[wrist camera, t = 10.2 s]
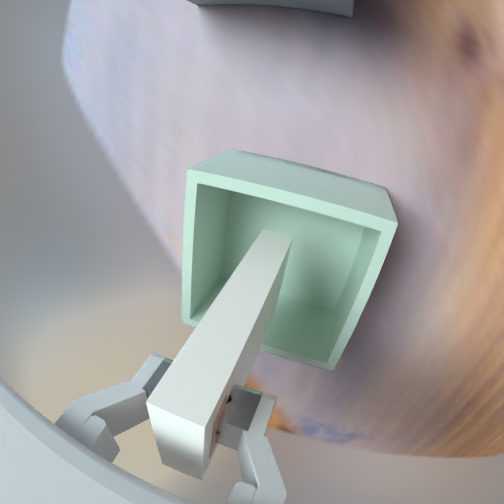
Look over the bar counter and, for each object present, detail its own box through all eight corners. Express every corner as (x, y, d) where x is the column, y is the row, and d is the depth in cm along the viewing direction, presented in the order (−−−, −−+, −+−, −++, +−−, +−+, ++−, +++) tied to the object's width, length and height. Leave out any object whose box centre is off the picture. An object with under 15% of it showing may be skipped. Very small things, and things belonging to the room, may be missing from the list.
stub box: (385, 187, 17) (398, 223, 12) (341, 312, 22) (332, 371, 17) (232, 148, 19) (187, 168, 14) (217, 275, 24) (181, 322, 19)
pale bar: (293, 237, 16) (205, 427, 6) (275, 311, 18) (202, 480, 9) (262, 228, 16) (145, 401, 7) (249, 303, 18) (162, 463, 9)
